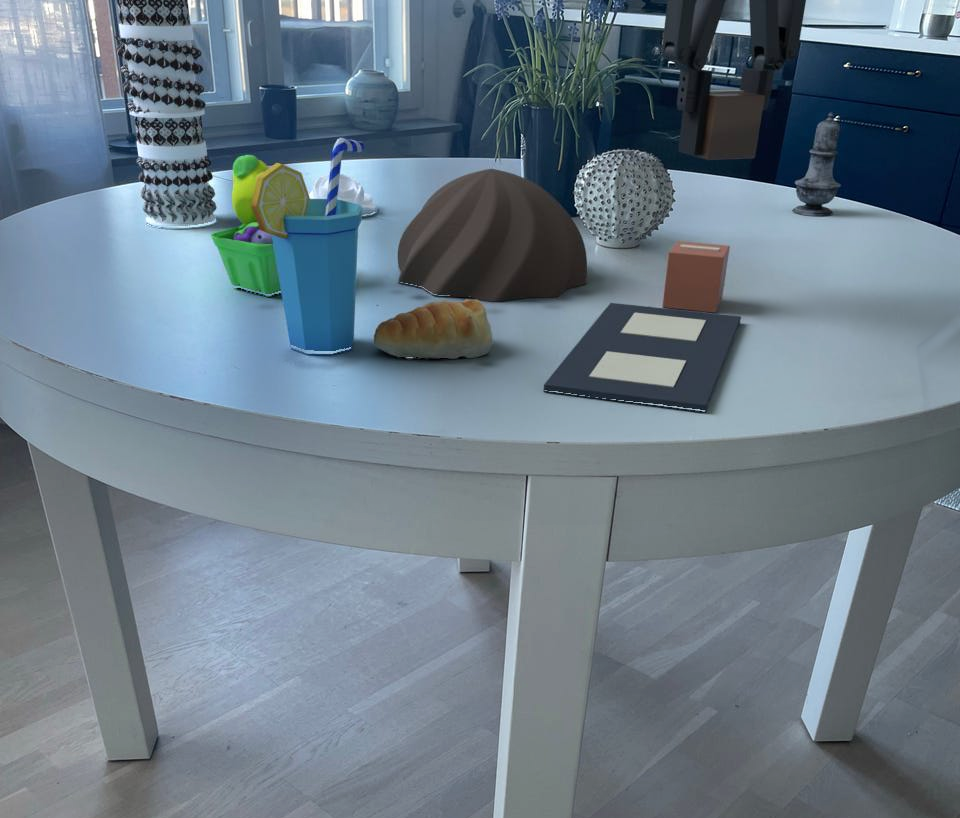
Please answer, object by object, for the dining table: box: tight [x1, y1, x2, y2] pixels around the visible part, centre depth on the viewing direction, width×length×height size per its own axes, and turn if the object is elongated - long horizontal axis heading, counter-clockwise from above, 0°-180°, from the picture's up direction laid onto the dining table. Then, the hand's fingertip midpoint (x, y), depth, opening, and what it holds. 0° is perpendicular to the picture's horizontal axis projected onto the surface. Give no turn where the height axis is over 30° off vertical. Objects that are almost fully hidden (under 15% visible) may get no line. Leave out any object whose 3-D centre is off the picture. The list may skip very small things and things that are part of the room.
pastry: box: [373, 298, 494, 361], centre depth 82 cm, size 9×7×4 cm
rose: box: [308, 173, 379, 218], centre depth 129 cm, size 10×4×10 cm
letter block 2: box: [661, 240, 731, 314], centre depth 95 cm, size 5×5×5 cm
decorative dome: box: [397, 168, 588, 303], centre depth 101 cm, size 19×20×10 cm
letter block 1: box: [678, 88, 765, 161], centre depth 91 cm, size 5×5×5 cm
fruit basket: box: [210, 154, 282, 298], centre depth 97 cm, size 11×9×11 cm
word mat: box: [543, 302, 742, 414], centre depth 83 cm, size 24×12×1 cm, turn 162°
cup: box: [251, 137, 365, 356], centre depth 80 cm, size 14×8×15 cm, turn 158°
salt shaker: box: [791, 111, 841, 217], centre depth 133 cm, size 6×6×12 cm
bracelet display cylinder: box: [114, 0, 218, 230], centre depth 116 cm, size 9×9×25 cm
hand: (716, 151), depth 92 cm, fingers closed on letter block 1, 5 cm apart
